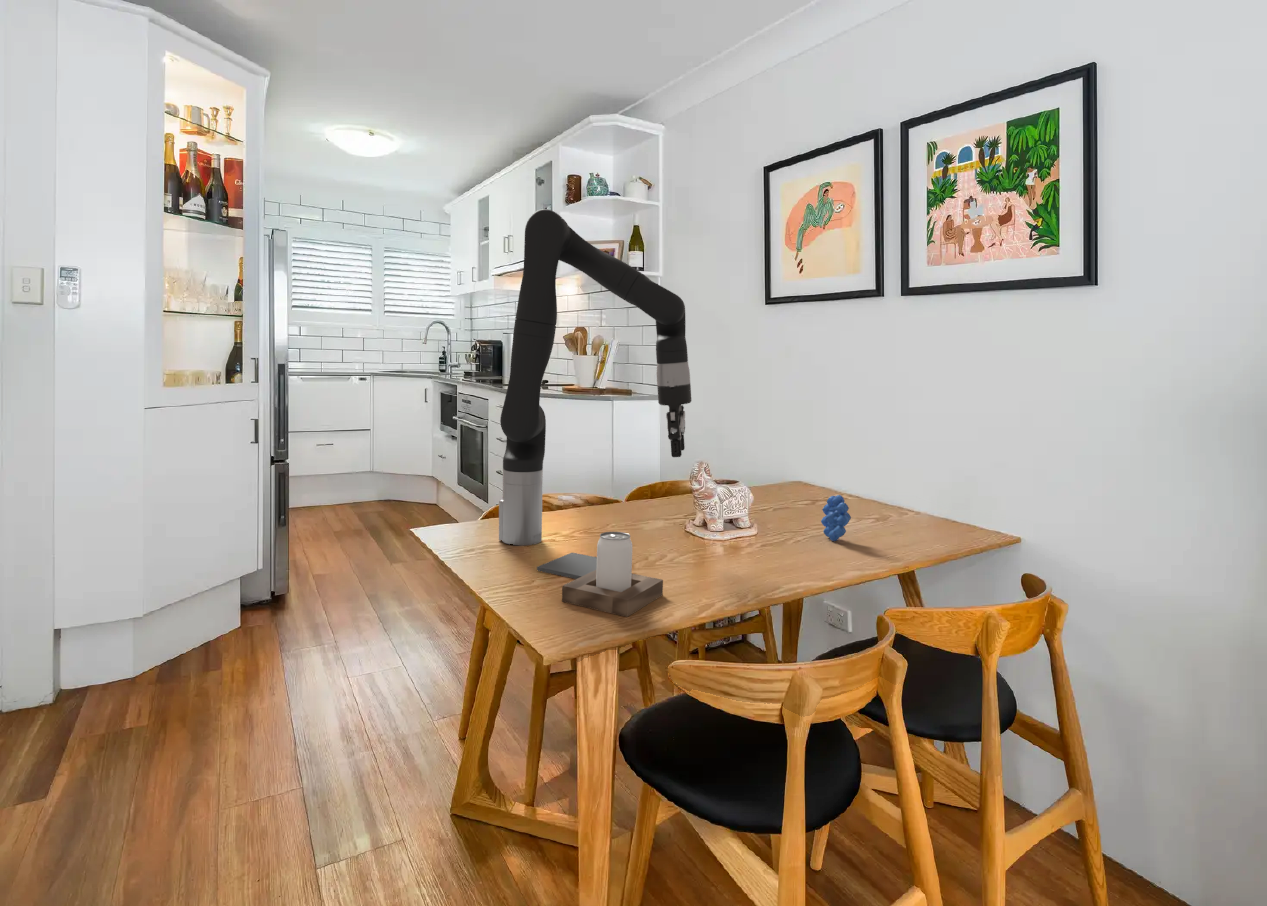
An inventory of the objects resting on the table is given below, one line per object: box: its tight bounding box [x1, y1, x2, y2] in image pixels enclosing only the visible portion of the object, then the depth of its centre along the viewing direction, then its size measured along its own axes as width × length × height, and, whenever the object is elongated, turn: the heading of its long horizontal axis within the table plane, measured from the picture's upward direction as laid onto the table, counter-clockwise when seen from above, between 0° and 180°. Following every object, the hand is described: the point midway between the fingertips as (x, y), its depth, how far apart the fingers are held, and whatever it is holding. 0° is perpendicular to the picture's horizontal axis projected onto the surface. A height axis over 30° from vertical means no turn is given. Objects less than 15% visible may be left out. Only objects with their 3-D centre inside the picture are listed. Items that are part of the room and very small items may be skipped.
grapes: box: [820, 494, 852, 542], centre depth 181 cm, size 12×7×12 cm, turn 10°
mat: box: [536, 552, 597, 580], centre depth 152 cm, size 13×13×1 cm
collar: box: [561, 570, 664, 618], centre depth 134 cm, size 14×14×3 cm
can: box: [596, 531, 633, 592], centre depth 133 cm, size 6×6×12 cm
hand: (678, 453), depth 166 cm, fingers open, 8 cm apart
